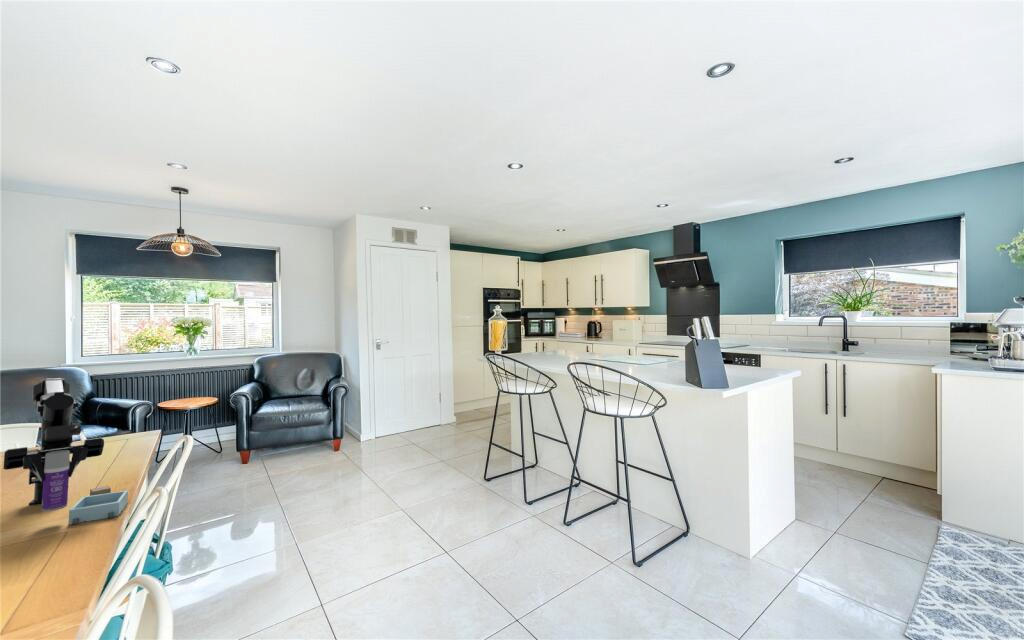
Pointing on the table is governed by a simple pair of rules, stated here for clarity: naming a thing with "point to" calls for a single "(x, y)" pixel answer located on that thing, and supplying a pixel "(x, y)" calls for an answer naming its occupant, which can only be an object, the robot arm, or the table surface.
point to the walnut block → (100, 490)
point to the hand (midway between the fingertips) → (56, 478)
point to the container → (56, 480)
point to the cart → (98, 507)
